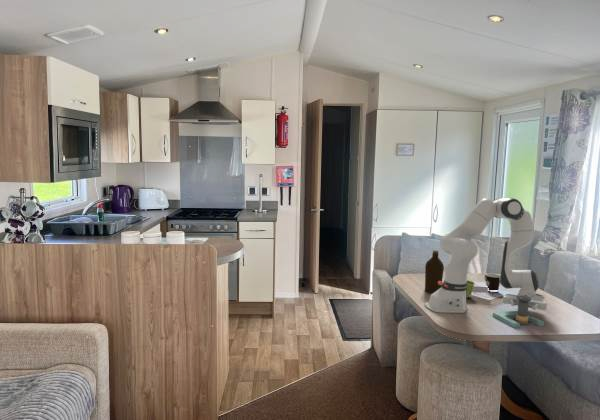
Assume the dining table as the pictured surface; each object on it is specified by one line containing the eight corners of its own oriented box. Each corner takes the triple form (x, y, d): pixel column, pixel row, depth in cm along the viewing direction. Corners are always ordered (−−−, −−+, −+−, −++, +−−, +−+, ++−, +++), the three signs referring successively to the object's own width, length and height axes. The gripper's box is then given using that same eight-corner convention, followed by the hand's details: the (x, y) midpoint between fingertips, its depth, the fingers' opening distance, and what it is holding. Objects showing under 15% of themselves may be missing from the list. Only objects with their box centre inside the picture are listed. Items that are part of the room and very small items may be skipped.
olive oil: (440, 295, 270) (443, 253, 267) (422, 292, 274) (424, 251, 271) (443, 290, 279) (446, 250, 276) (425, 287, 284) (428, 248, 281)
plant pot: (471, 300, 262) (472, 285, 261) (454, 297, 267) (456, 282, 266) (475, 296, 270) (476, 281, 269) (458, 293, 275) (459, 279, 274)
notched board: (514, 327, 221) (514, 323, 221) (492, 316, 237) (492, 312, 236) (543, 325, 225) (543, 321, 225) (520, 314, 241) (520, 310, 241)
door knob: (520, 325, 224) (523, 300, 223) (511, 320, 230) (513, 295, 229) (531, 324, 226) (534, 299, 224) (522, 320, 232) (524, 295, 230)
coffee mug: (501, 294, 276) (502, 277, 275) (486, 292, 278) (487, 276, 276) (497, 288, 287) (498, 273, 286) (482, 287, 289) (483, 272, 288)
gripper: (504, 289, 243) (501, 296, 232) (548, 296, 233) (546, 303, 221) (503, 301, 244) (500, 308, 232) (547, 308, 234) (545, 316, 222)
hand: (523, 306), depth 227 cm, fingers open, 8 cm apart
